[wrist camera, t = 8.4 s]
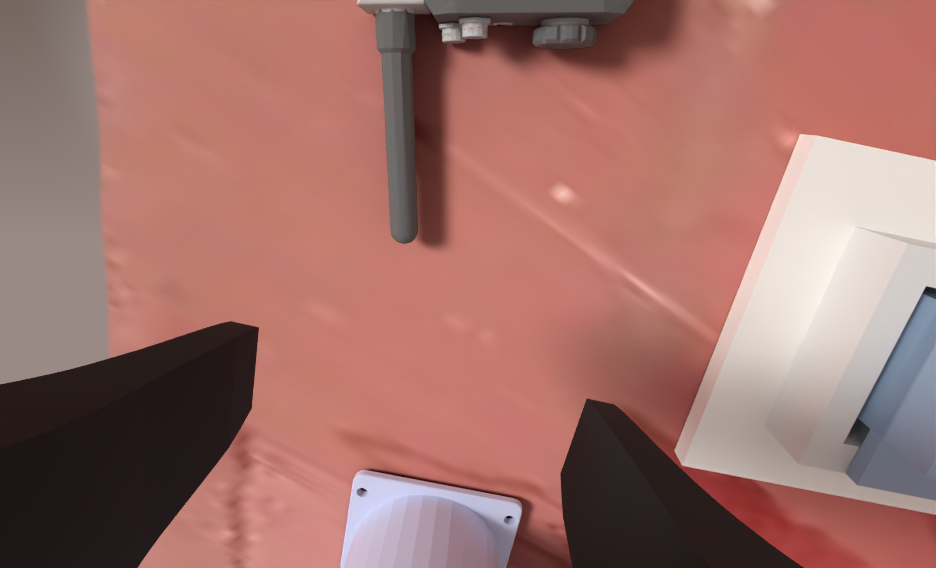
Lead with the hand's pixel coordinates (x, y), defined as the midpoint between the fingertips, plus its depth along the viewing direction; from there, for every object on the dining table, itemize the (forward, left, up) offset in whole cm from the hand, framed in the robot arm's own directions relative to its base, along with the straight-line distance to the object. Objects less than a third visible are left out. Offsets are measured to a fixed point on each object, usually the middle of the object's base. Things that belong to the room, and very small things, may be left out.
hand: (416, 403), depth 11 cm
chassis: (0, -18, -10) cm, 20 cm away
